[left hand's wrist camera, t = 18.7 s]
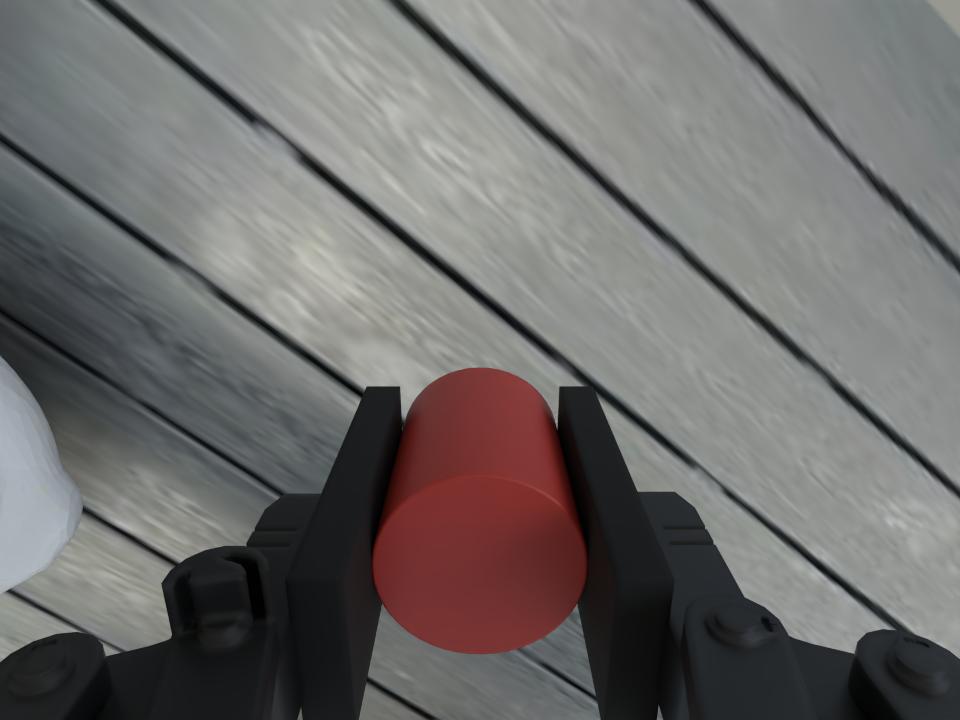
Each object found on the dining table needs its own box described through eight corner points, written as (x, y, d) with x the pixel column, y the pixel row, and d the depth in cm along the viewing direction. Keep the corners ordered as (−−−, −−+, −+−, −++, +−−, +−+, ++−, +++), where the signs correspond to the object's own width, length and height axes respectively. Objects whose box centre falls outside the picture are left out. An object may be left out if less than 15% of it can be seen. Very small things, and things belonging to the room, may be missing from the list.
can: (462, 336, 14) (453, 433, 10) (587, 422, 15) (633, 550, 10) (373, 453, 15) (329, 590, 11) (495, 529, 16) (501, 687, 12)
